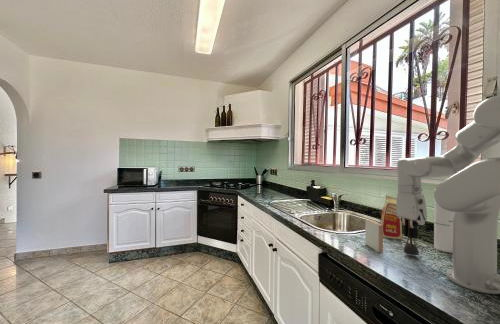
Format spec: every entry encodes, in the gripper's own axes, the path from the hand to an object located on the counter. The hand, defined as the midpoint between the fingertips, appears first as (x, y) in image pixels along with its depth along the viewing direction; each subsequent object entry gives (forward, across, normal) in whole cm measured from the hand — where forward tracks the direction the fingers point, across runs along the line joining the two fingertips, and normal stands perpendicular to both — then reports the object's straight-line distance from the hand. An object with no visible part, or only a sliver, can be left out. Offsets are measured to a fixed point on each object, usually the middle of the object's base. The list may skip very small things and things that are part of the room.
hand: (410, 236), depth 86 cm
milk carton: (+7, +23, -10) cm, 26 cm away
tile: (+7, +9, +9) cm, 15 cm away
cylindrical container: (+8, +5, -20) cm, 22 cm away
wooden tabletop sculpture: (+6, 0, 0) cm, 6 cm away
